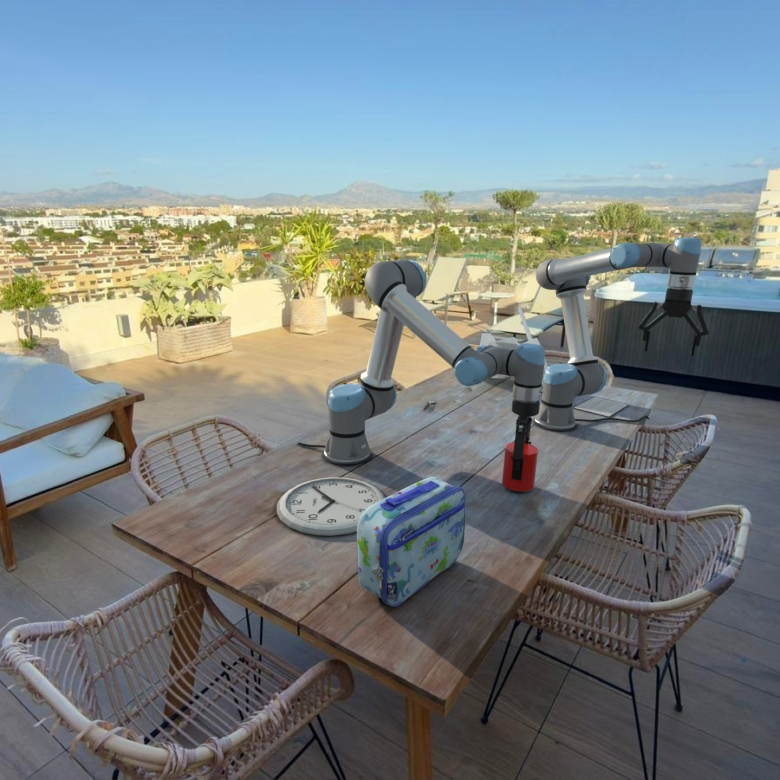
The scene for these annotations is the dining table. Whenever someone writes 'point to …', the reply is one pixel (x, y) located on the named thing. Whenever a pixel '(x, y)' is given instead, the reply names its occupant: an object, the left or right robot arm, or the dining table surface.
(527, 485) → the canister
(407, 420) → the dining table surface
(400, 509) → the lunch box
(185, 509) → the dining table surface
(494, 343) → the white plastic object
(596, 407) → the invitation card
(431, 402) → the fork
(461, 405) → the dining table surface
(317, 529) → the wall clock
